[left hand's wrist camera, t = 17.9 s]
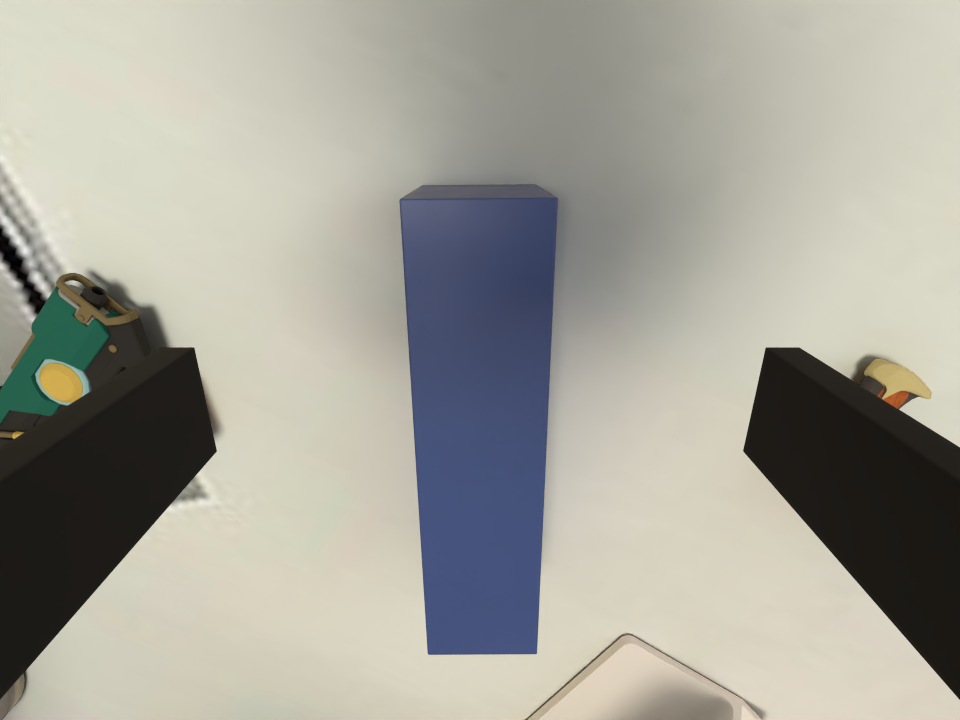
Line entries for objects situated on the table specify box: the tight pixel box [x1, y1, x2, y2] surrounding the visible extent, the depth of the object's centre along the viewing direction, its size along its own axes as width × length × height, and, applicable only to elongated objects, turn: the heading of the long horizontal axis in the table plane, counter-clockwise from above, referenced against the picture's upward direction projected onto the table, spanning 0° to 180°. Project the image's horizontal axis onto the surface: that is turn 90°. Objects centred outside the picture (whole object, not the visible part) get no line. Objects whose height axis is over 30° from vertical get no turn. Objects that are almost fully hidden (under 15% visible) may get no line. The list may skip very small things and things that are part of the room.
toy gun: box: [860, 359, 931, 409], centre depth 39 cm, size 3×19×10 cm
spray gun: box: [0, 273, 151, 447], centre depth 36 cm, size 4×17×15 cm
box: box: [400, 185, 558, 655], centre depth 33 cm, size 28×7×10 cm, turn 0°
